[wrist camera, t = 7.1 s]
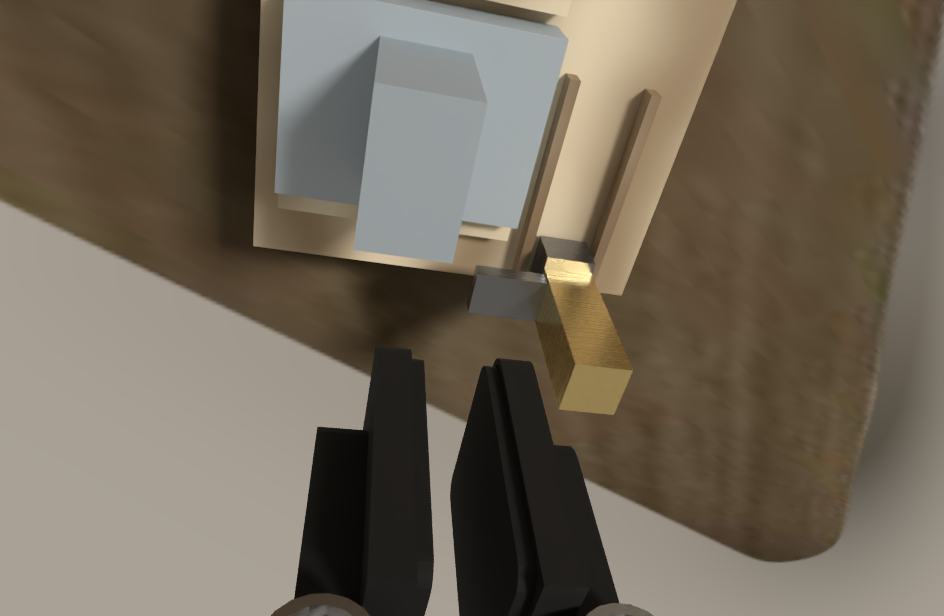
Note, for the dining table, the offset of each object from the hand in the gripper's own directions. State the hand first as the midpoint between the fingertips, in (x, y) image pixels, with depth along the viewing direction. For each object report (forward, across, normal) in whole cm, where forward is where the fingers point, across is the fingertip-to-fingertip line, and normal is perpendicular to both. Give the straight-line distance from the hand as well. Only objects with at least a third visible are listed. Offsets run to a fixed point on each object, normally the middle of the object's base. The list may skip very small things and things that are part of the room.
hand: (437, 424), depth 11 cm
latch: (+17, -6, +6) cm, 19 cm away
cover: (+17, 0, 0) cm, 17 cm away
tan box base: (+21, -2, +1) cm, 21 cm away
